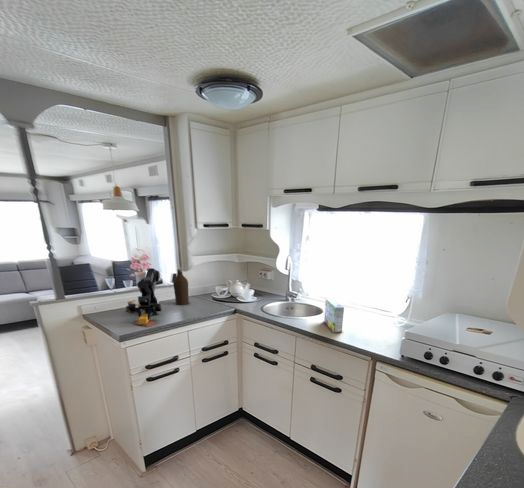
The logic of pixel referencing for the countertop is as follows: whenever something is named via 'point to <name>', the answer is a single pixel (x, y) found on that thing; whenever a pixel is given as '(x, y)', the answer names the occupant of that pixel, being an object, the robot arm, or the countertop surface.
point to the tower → (132, 303)
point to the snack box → (334, 315)
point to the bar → (143, 319)
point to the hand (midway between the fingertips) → (144, 319)
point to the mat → (145, 324)
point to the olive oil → (181, 289)
